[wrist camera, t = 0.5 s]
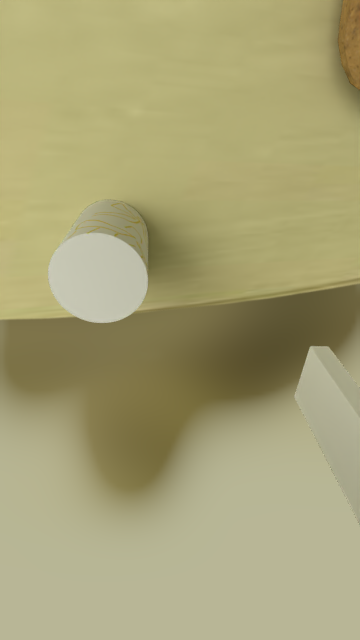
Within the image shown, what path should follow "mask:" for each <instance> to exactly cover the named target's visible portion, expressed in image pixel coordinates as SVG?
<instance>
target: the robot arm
mask: <svg viewBox="0 0 360 640" xmlns="http://www.w3.org/2000/svg"><path fill="white" fill-rule="evenodd" d="M295 399H296V401H297V403H298V405H299V407H300V409H301V411H302V413H303V415H304V417H305V419H306V421H307V423H308V424H309V427H310V429H311V431H312V432H313V434H314V436H315V438H316V440H317V442H318V444H319V446H320V448H321V450H322V452H323V454H324V456H325V458H326V460H327V462H328V464H329V466H330V468H331V470H332V471H333V474H334V476H335V478H336V479H337V482H338V483H339V485H340V487H341V489H342V491H343V493H344V495H345V497H346V499H347V501H348V503H349V505H350V507H351V509H352V511H353V513H354V515H355V517H356V519H357V521H358V523H359V525H360V387H359V386H358V385H357V383H356V382H355V381H354V379H353V378H352V377H351V375H350V374H349V373H348V371H347V370H346V369H345V368H344V366H343V365H342V364H341V362H340V361H339V360H338V358H337V357H336V356H335V354H334V353H333V352H332V351H331V349H330V348H329V347H328V346H310V349H309V352H308V355H307V358H306V362H305V365H304V368H303V371H302V374H301V377H300V381H299V384H298V387H297V390H296V393H295Z"/></svg>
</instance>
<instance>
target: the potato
mask: <svg viewBox="0 0 360 640" xmlns="http://www.w3.org/2000/svg"><path fill="white" fill-rule="evenodd" d="M338 45H339V50H340V56H341V62H342V66H343V68H344V70H345V73H346V75H347V77H348V79H349V82H350V83H351V84H352V85H354V86H355V87H356V88H358V89H359V90H360V0H343V5H342V11H341V18H340V27H339V36H338Z"/></svg>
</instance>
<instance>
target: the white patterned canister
mask: <svg viewBox="0 0 360 640" xmlns="http://www.w3.org/2000/svg"><path fill="white" fill-rule="evenodd" d="M48 280H49V285H50V288H51V291H52V293H53V295H54V297H55V298H56V300H57V301H58V302H59V303H60V305H61V306H62V307H63V308H64V309H66V310H67V311H68V312H70V313H71V314H73V315H74V316H76V317H78V318H81V319H83V320H86V321H90V322H97V323H108V322H114V321H118V320H121V319H123V318H125V317H127V316H129V315H130V314H132V313H133V312H134V311H135V310H136V309H137V308H138V307H139V306H140V305H141V303H142V302H143V300H144V298H145V295H146V292H147V288H148V231H147V227H146V224H145V222H144V220H143V218H142V217H141V216H140V214H139V213H138V212H137V211H136V210H135V209H134V208H132V207H131V206H129V205H127V204H125V203H123V202H120V201H116V200H102V201H98V202H95V203H93V204H91V205H90V206H88V207H87V208H86V209H85V210H84V211H83V212H82V213H81V215H80V216H79V217H78V219H77V220H76V222H75V223H74V225H73V226H72V228H71V229H70V231H69V232H68V233H67V235H66V236H65V238H64V239H63V241H62V242H61V244H60V245H59V247H58V248H57V249H56V251H55V252H54V254H53V256H52V258H51V260H50V263H49V268H48Z"/></svg>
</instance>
